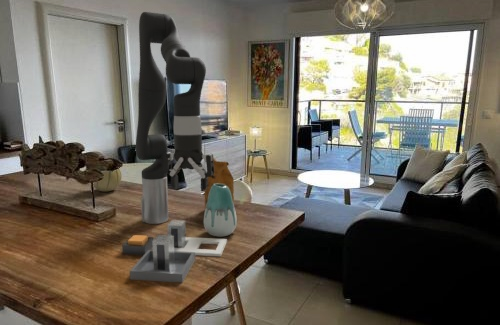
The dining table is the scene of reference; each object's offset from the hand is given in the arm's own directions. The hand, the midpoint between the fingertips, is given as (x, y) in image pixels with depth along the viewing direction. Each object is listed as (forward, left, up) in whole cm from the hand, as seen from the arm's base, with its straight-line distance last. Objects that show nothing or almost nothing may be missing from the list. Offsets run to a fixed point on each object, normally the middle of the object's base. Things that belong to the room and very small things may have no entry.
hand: (189, 189), depth 104 cm
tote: (-6, -7, -22) cm, 24 cm away
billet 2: (-7, +8, -22) cm, 24 cm away
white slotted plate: (-2, +8, -22) cm, 24 cm away
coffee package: (-1, +46, -22) cm, 51 cm away
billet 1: (-6, -7, -21) cm, 23 cm away
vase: (+4, +23, -22) cm, 32 cm away
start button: (-18, +4, -19) cm, 27 cm away
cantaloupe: (-62, +70, -22) cm, 96 cm away
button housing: (-18, +4, -22) cm, 29 cm away
